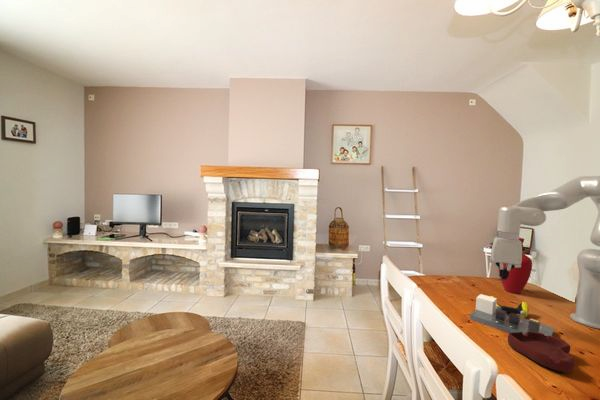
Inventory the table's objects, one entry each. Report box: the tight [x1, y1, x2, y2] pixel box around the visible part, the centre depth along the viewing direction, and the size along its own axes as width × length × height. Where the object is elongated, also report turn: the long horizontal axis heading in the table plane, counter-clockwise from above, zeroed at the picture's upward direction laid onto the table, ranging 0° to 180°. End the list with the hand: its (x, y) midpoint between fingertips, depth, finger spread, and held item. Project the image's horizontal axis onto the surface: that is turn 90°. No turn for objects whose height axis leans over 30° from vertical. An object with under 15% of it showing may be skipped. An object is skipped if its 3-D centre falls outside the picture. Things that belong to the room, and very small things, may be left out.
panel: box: [469, 309, 555, 337], centre depth 112 cm, size 25×15×6 cm, turn 42°
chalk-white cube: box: [475, 293, 498, 314], centre depth 121 cm, size 6×6×6 cm
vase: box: [497, 237, 533, 295], centre depth 150 cm, size 15×15×30 cm
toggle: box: [528, 317, 541, 332], centre depth 105 cm, size 3×3×4 cm
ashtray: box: [507, 332, 575, 374], centre depth 92 cm, size 18×16×5 cm
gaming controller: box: [490, 295, 530, 319], centre depth 123 cm, size 15×6×10 cm
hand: (503, 278), depth 116 cm, fingers closed
